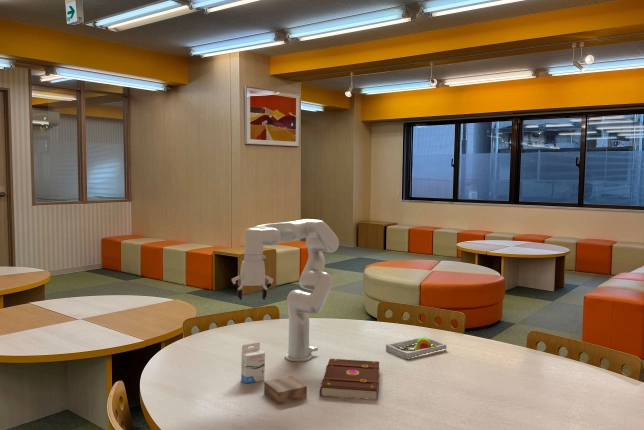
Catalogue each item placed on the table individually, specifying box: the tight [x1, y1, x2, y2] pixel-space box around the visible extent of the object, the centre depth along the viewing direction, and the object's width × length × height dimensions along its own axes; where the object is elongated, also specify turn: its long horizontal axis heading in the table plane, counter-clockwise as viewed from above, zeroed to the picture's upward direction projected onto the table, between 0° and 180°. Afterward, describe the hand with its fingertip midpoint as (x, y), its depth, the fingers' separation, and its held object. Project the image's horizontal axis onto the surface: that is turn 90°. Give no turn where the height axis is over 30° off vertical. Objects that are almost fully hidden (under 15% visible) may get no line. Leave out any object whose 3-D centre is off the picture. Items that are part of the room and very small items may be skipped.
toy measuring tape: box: [396, 336, 436, 351], centre depth 259 cm, size 6×20×7 cm, turn 78°
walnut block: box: [263, 375, 308, 406], centre depth 203 cm, size 12×12×5 cm
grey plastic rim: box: [385, 336, 447, 360], centre depth 259 cm, size 26×15×3 cm, turn 123°
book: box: [319, 358, 380, 400], centre depth 218 cm, size 23×32×5 cm
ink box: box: [240, 342, 266, 384], centre depth 217 cm, size 8×5×15 cm, turn 123°
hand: (252, 299), depth 219 cm, fingers open, 9 cm apart
